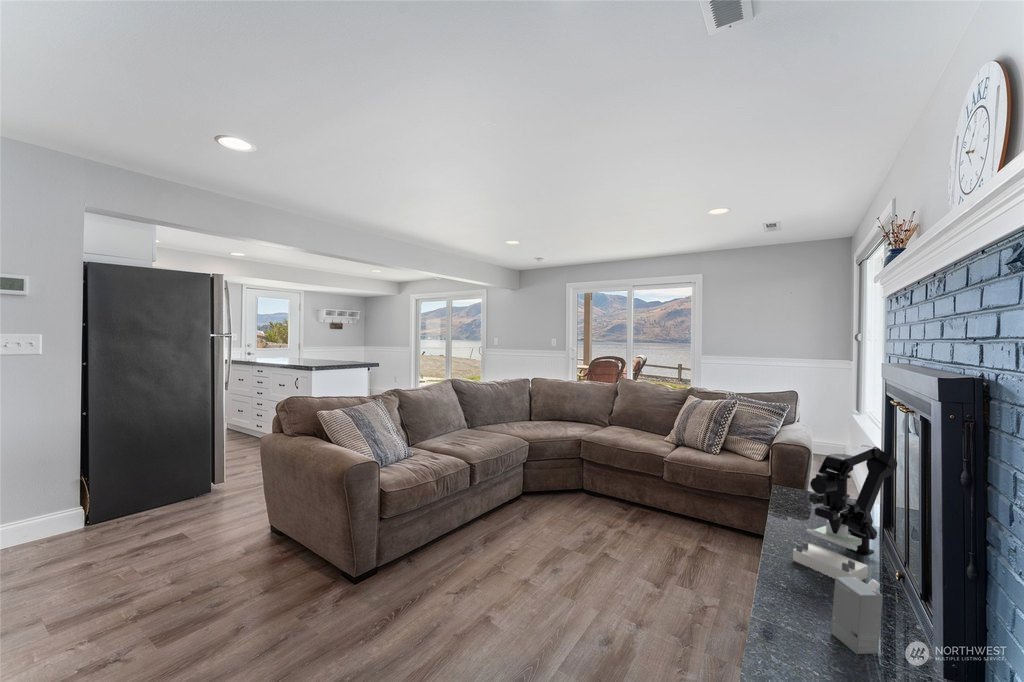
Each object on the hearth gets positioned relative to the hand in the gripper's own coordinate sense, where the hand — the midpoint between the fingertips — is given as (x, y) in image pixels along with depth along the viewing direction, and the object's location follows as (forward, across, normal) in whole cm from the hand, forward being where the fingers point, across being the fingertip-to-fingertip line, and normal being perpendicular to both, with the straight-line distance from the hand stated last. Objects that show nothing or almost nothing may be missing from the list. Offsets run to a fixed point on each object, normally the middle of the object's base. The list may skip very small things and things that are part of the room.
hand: (836, 532), depth 159 cm
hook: (+9, +29, +22) cm, 37 cm away
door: (+3, 0, 0) cm, 3 cm away
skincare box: (+9, +46, +28) cm, 55 cm away
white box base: (+9, +12, +4) cm, 15 cm away
